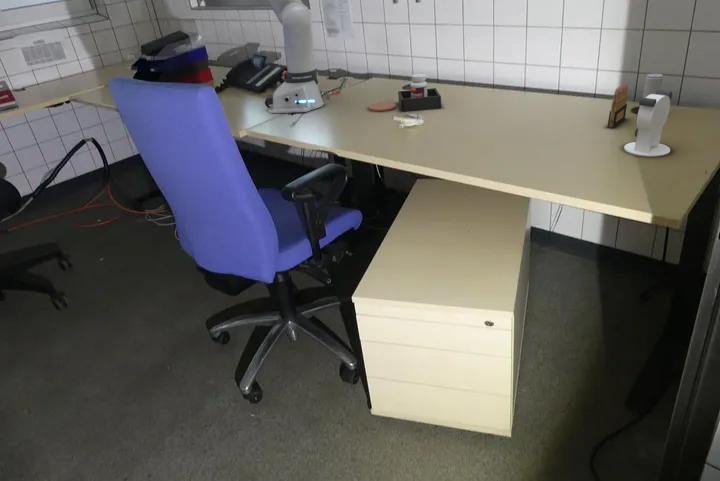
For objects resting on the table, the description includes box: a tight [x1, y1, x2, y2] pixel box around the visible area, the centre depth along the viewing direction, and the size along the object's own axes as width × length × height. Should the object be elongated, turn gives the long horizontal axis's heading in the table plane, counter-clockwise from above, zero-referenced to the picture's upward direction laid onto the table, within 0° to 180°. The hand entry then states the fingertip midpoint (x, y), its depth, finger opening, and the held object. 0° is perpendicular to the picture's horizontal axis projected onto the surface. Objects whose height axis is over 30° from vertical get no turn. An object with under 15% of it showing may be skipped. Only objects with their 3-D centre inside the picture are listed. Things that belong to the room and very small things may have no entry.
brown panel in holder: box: [607, 81, 629, 129], centre depth 169 cm, size 11×2×12 cm, turn 140°
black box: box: [397, 87, 442, 112], centre depth 207 cm, size 15×13×4 cm
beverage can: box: [642, 73, 664, 98], centre depth 176 cm, size 5×5×12 cm
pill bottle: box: [410, 73, 428, 98], centre depth 206 cm, size 6×6×11 cm
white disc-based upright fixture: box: [623, 89, 673, 158], centre depth 147 cm, size 12×11×15 cm
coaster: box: [368, 101, 396, 113], centre depth 209 cm, size 10×10×1 cm
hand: (406, 3), depth 202 cm, fingers open, 8 cm apart
